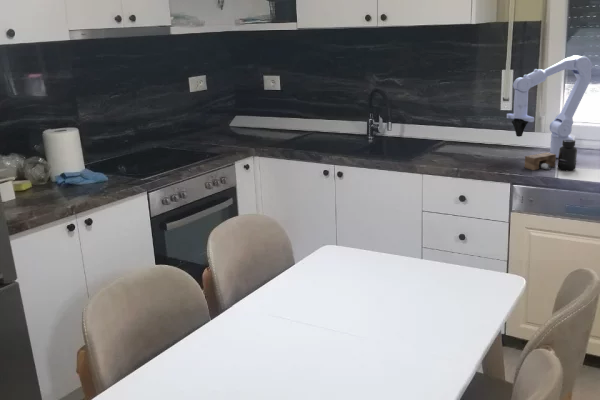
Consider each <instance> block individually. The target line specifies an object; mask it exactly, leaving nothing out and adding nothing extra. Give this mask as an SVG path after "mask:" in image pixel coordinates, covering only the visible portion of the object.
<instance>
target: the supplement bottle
mask: <svg viewBox="0 0 600 400" xmlns="http://www.w3.org/2000/svg"><path fill="white" fill-rule="evenodd" d="M562 145H563V146H562V147H560V149H559V157H558V158H557V169H558V170H559V171H563V172H573V171H575V170H576V165H577V156H578V149H577V147H576V140H574V139H573V140H563V142H562Z"/></svg>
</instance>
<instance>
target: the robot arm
mask: <svg viewBox="0 0 600 400" xmlns="http://www.w3.org/2000/svg"><path fill="white" fill-rule="evenodd" d="M592 67H593V63H592V61H591V59H590V58H589V57H587V56H585V55H584V56H581V55H578V54H577V55H576V54H573V55H571V56H569V57H566V58H564V59H562V60H560V61H559V62H557V63H555V64H553V65H551V66H549V67H546V68H545V69H541V68H539V69H537V68H534V69H533V71H532V72H529V73H528V74H524V75H523V77H517V78H516V79H515V80H514V81H513V83H512V87H513V89H514V96H513V112H512V113H506V119H511V123H512V125H513V127H514V131H515V134H516V137H523V133H524V131H525V129H526V126H527V125H528V123H534V122H535V117H534V116H530V115H528V109H529V108H528V106H529V105H528V104H529V102H528V101H529V90H531V89H532V88H533V87H535V86H537V85H539V84H542V83H543V82H545V81H546V80H547V78H548V77H551V76H553V75H555V74H557V73H560V72H562V71H564V70H570V71H571V72H573V74H574V77H575V78H576V80H575V83H574V85H573V87H572V88H571V90H570V93H569V95H568V96H567V99H566V101H565V103H564V105H563V107H562V109H561V111H560V113H559V114H557V115H556V116H555V118H554V120H552V121H551V122H550V125H549V131H550V132H551V136H550V147H549V149H550V150H549V153H552V154H556V159H558V157H559V149H560V147H562V146H563V145H562V142H563V140H574V138H573V137H572V135H571V133H572V129H573V124H574V120H573V117H574V116H575V113H576V111H577V109H578V107H579V105H580V103H581V101H582V99H583V97H584V95H585V93H586V90H587V89H588V86H589V84H590V82H591V81H592Z"/></svg>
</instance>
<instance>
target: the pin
mask: <svg viewBox="0 0 600 400" xmlns="http://www.w3.org/2000/svg"><path fill="white" fill-rule="evenodd" d="M539 169H541V170H546V171H549V170H550V169H551V167H550V165H549V164H545V163H541V162H539Z"/></svg>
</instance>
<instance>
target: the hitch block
mask: <svg viewBox="0 0 600 400" xmlns="http://www.w3.org/2000/svg"><path fill="white" fill-rule="evenodd" d="M556 159H557V158H556V154H552V153H550V152H542V153H541V152H540V153H537V154H530V155H525V156H524V168H525V169H528V170H530V171H531V170H532V171H535V170H536V171H537V170H539V169H540V168H539V162H541V163H545V164H549V165H550V168H551V167H552V168H553V167H556Z"/></svg>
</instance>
